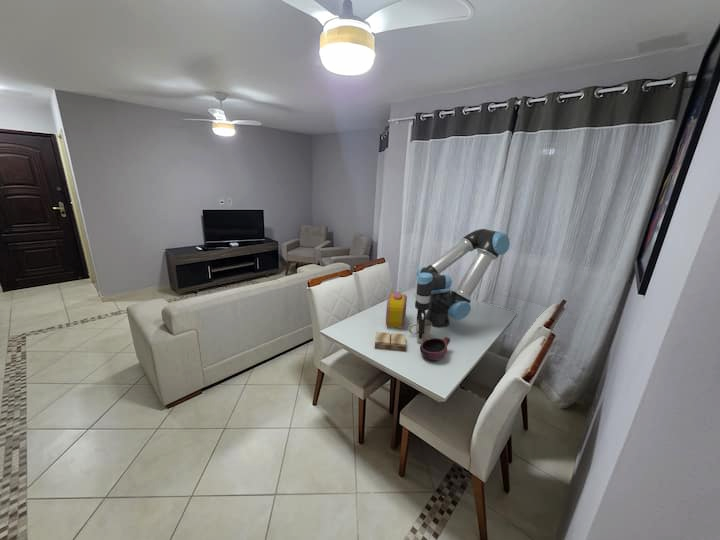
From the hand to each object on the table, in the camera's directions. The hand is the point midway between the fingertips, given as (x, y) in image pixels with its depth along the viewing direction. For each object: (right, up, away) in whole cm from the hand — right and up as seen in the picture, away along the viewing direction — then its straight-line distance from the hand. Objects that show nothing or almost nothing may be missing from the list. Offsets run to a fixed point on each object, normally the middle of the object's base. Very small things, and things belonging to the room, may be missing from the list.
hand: (418, 337), depth 152 cm
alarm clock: (-11, +5, +16) cm, 20 cm away
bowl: (+4, -5, -15) cm, 16 cm away
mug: (0, 0, 0) cm, 0 cm away
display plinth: (-17, -2, -7) cm, 18 cm away
